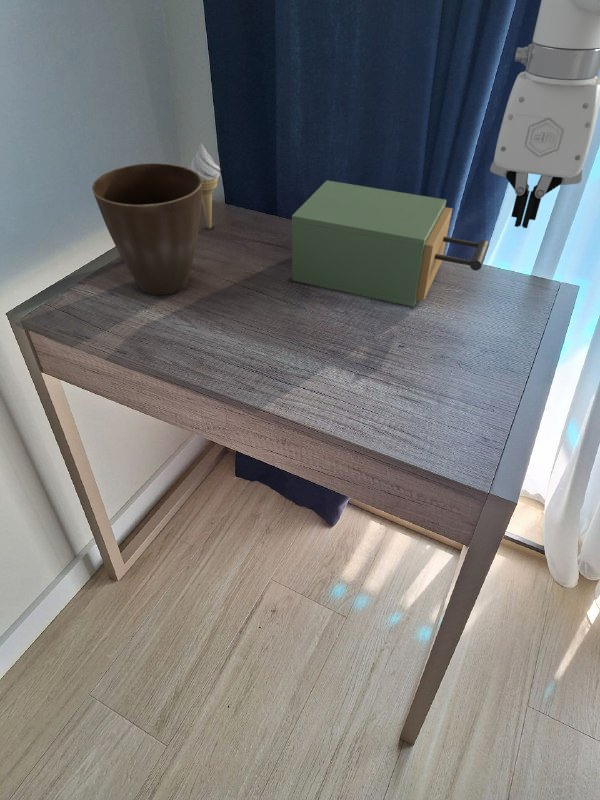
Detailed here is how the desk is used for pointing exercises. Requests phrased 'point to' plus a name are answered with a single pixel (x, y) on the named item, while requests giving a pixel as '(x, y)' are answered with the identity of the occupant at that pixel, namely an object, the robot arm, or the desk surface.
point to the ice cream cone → (206, 179)
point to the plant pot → (153, 221)
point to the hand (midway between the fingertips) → (521, 223)
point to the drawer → (436, 253)
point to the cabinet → (363, 240)
